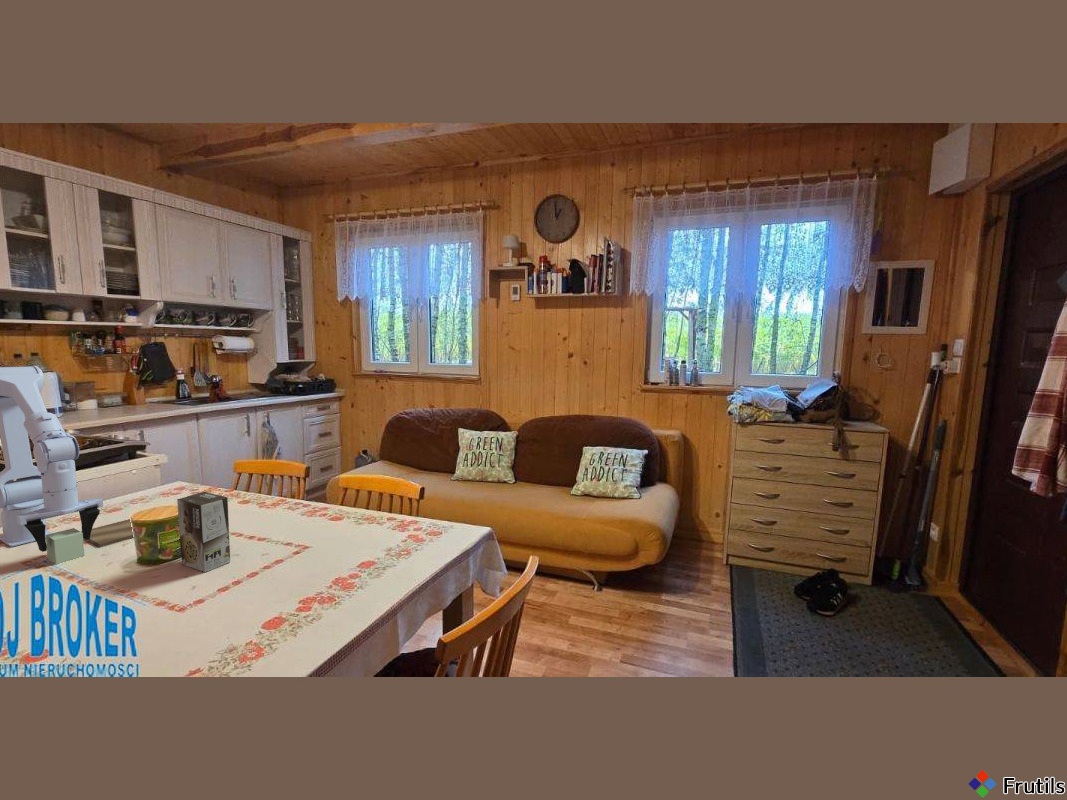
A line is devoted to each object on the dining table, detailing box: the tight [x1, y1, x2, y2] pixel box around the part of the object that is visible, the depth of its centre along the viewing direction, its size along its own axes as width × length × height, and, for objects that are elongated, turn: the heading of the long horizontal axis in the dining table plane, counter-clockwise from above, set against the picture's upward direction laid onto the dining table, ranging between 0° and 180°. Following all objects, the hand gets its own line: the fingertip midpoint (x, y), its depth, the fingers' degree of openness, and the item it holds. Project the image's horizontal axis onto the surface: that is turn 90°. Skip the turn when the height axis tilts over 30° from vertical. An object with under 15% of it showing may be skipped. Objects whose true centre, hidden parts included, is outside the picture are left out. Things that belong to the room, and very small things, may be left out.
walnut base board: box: [80, 518, 134, 548], centre depth 128 cm, size 13×13×1 cm
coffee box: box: [176, 491, 231, 573], centre depth 113 cm, size 9×6×16 cm
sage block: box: [45, 527, 86, 566], centre depth 114 cm, size 5×5×6 cm
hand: (65, 544), depth 113 cm, fingers open, 7 cm apart
